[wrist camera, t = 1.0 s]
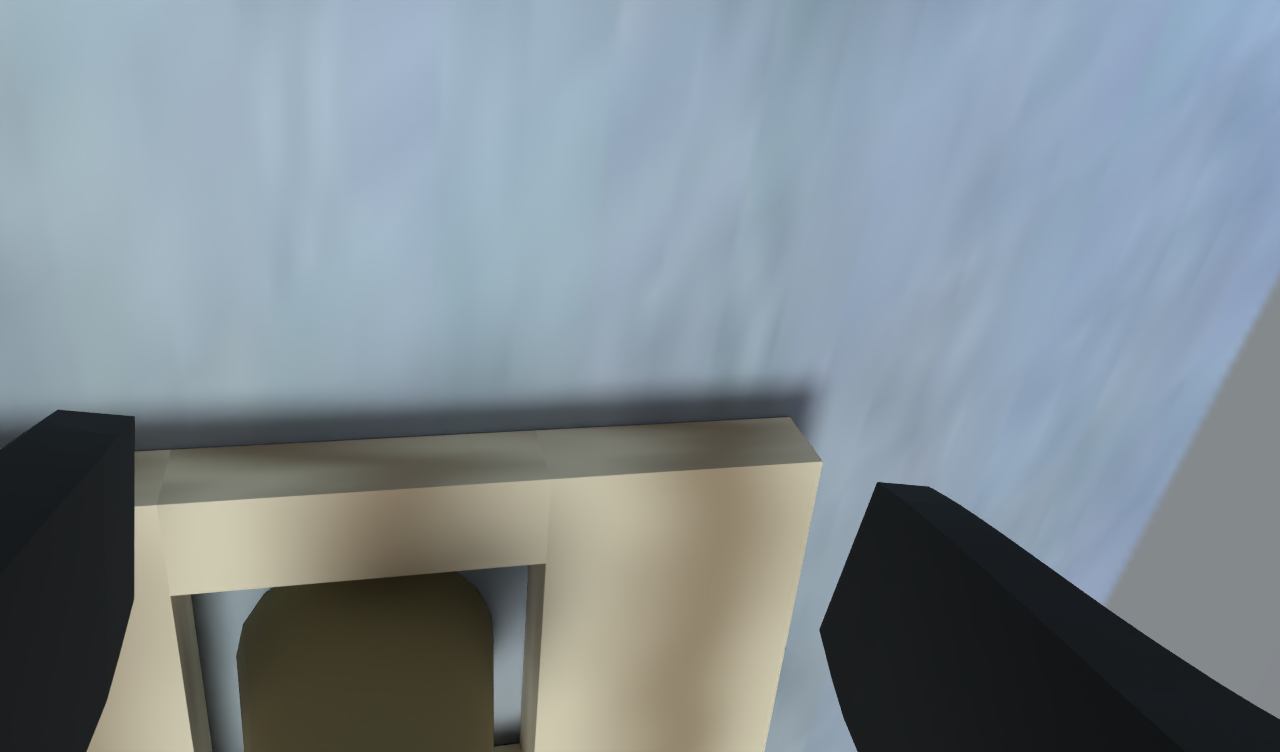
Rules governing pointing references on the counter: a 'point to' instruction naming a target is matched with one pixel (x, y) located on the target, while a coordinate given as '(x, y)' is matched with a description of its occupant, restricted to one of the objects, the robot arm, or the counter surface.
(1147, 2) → the counter surface
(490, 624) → the cork
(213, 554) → the socket board
